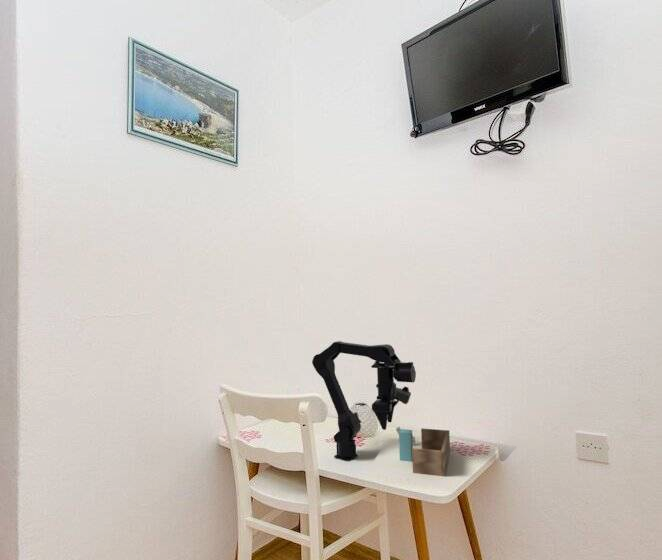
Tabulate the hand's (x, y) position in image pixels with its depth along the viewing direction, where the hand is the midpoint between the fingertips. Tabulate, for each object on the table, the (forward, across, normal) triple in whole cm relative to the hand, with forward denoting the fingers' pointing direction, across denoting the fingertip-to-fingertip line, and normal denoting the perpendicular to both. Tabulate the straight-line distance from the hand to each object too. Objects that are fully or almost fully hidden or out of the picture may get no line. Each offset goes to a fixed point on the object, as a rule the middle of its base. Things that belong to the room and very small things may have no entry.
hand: (387, 425), depth 147 cm
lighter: (+13, +17, -3) cm, 22 cm away
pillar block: (+13, +2, -6) cm, 15 cm away
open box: (+13, +2, -15) cm, 20 cm away
